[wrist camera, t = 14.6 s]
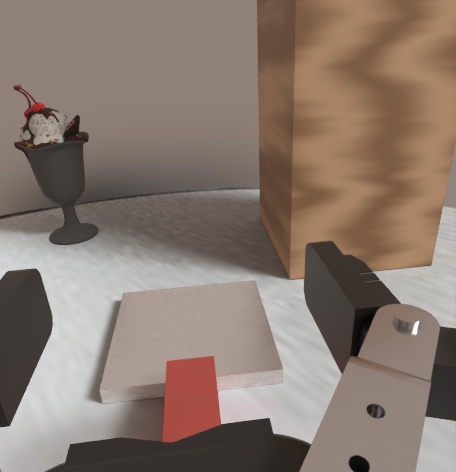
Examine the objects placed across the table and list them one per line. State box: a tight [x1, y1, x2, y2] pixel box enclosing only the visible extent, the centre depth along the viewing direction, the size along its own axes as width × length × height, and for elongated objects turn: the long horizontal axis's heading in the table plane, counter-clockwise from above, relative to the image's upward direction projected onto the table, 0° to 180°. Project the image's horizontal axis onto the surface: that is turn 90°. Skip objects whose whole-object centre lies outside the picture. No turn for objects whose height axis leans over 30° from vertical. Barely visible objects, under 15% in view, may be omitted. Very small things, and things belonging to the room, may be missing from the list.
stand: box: [257, 0, 456, 279], centre depth 31 cm, size 12×13×34 cm
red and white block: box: [99, 280, 283, 442], centre depth 20 cm, size 10×22×2 cm, turn 6°
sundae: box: [14, 85, 98, 244], centre depth 39 cm, size 7×7×15 cm
